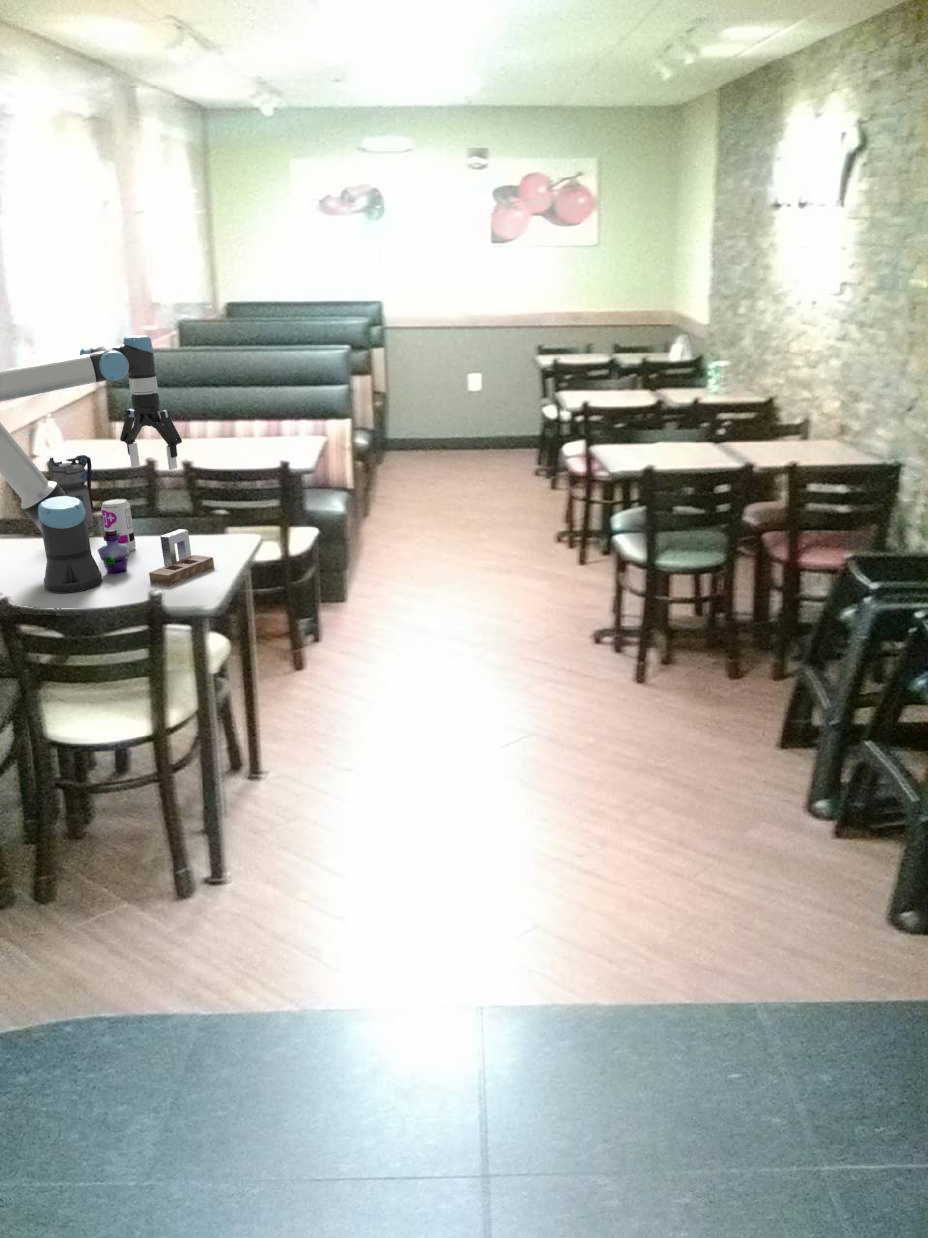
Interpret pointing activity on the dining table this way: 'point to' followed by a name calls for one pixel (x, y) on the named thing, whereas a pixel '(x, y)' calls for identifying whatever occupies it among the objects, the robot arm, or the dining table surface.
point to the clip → (169, 546)
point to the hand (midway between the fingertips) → (154, 467)
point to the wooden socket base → (181, 570)
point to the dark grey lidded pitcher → (75, 482)
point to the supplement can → (119, 520)
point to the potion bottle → (114, 553)
